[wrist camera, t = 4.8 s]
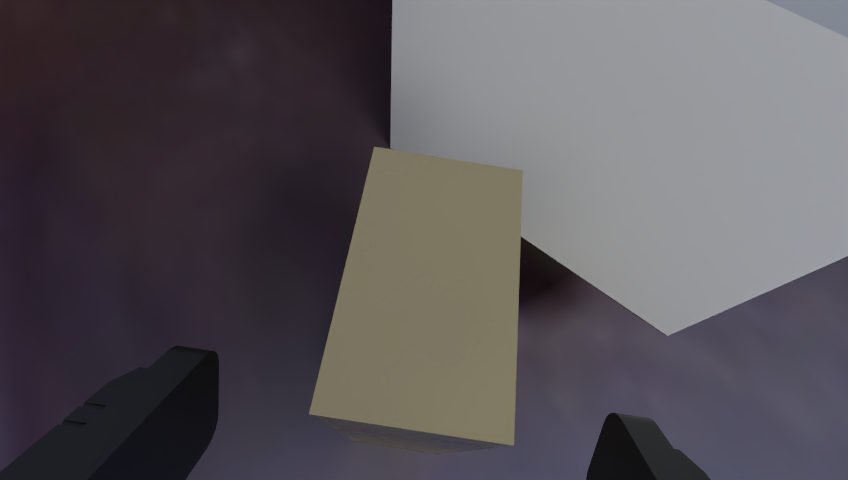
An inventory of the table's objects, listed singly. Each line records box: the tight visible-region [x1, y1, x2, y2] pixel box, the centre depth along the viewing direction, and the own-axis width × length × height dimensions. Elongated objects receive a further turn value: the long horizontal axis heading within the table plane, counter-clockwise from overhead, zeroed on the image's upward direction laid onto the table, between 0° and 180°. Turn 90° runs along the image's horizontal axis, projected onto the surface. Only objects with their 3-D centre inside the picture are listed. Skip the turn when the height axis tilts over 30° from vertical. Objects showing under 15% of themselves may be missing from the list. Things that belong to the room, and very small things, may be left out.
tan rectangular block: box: [309, 147, 523, 454], centre depth 12 cm, size 3×5×10 cm, turn 172°
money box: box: [390, 0, 848, 336], centre depth 17 cm, size 15×16×13 cm
